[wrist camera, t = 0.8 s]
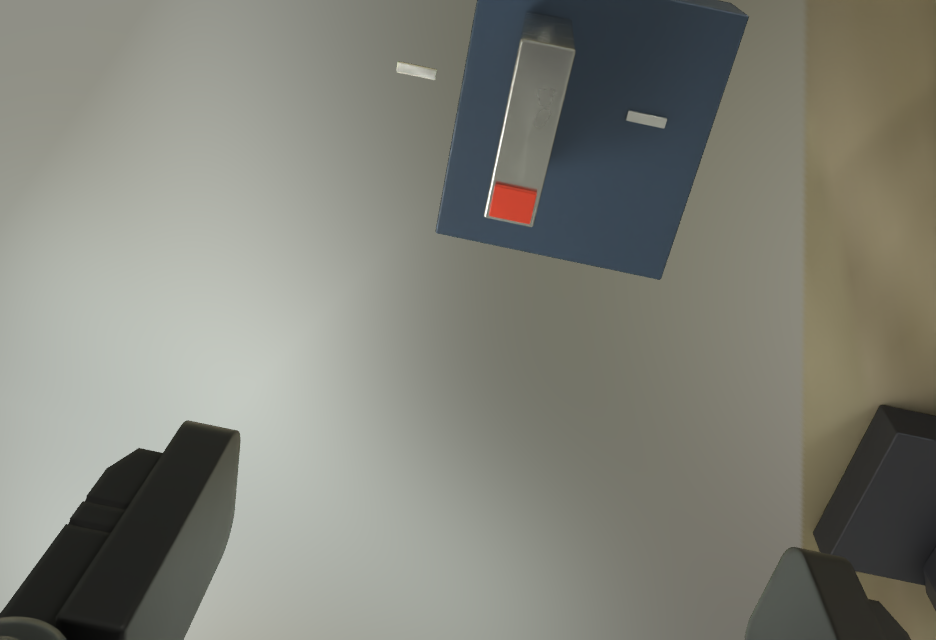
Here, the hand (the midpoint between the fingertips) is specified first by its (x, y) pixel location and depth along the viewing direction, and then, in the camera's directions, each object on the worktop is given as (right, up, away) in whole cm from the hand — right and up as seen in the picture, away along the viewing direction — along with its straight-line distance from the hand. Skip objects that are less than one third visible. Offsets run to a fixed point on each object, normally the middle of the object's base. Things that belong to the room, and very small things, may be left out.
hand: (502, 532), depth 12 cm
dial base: (+3, +12, +20) cm, 24 cm away
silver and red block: (+2, +11, +17) cm, 21 cm away
